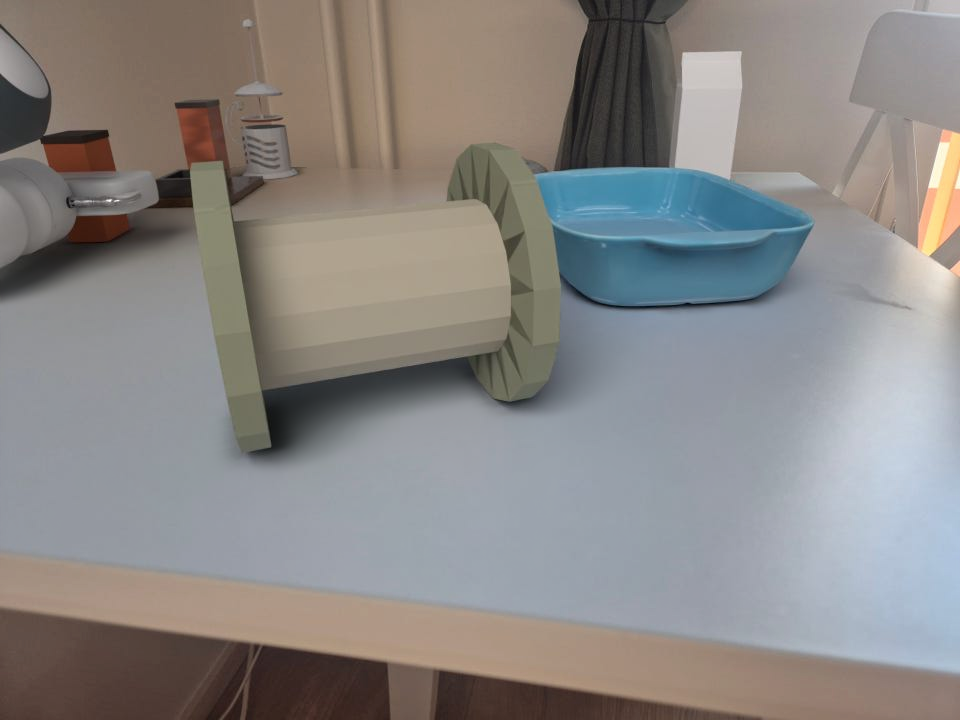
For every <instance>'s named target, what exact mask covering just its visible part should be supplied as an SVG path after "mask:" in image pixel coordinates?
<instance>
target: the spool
mask: <svg viewBox="0 0 960 720" xmlns="http://www.w3.org/2000/svg"><path fill="white" fill-rule="evenodd" d="M521 157H522V156H521V155H520V153H519V152H518V150H517V149H516V148H514V147H510V146H507V145H504V144H502V143H498V142H484V143H471V144H469V146H468V147H466V148H465V149H464V150H463V152H462V153H461V154H459V155H458V157H456V159H455V163H454V166H453V170H452V173H451V176H450V178H449V181H448V182H449V183H448V185H447V192H446V201H440V202H438V201H437V202H428V203H426V202H425V203H417V204H406V205H396V206H385V207H375V208H374V207H373V208H363V209H352V210H342V211H330V212H320V213H309V214H297V215H288V216H277V217H267V218H266V217H265V218H255V219H245V220H234V219H235V218H234V214H233V207H232V205H231V202H230V197H229V191H228V186H227V180H226V175H225V170H224V165H223V161H213V162H198V163H191V169H190V177H191V187H192V197H193V207H192V208H193V215H194V220H195V229H196V234H197V235H196V236H197V240H198V247H199V255H200V261H201V268H202V274H203V280H204V285H205V291H206V298H207V302H208V308H209V315H210V319H211V326H212V331H213V337H214V341H215V347H216V352H217V358H218V363H219V368H220V372H221V377H222V383H223V388H224V391H225V397H226V401H227V405H228V411H229V414H230V418H231V423H232V426H233V427H232V428H233V430H234V435H235V439H236V441H237V444H238V447H239V450H240V452H241V453H242V454H243V453H250V452H255V451H260V450H264V449H269V448H272V440H271V433H270V428H269V420H268V413H267V408H266V402H265V398H264V397H265V396H264V391H269V390H273V389H279V388H285V387H292V386H298V385H304V384H309V383H315V382H322V381H326V380H327V381H328V380H335V379H340V378H346V377H350V376H351V377H352V376H356V375H364V374H369V373H376V372H381V371H387V370H394V369H399V368H400V369H401V368H405V367H412V366H417V365H423V364H429V363H435V362H440V361H447V360H454V359H458V358H459V359H460V358H465V357H466V358H467V360H468V362H469V365H470V367H471V370H472V372H473V374H474V376H475V378H476V380H477V381H478V382H479V384H480V385H481V386H482V387H483V389H484V390H485V391H486V392H487V393H488V394H489V396H490V397H491V398H492V399H495V400H499V401H503V402H515V401H519V400H524V399H525V400H526V399H530V398H533V397H534V396H536V394H537V393H538V392H539V391H540V390H541V389H542V388H543V387H544V386H545V385H546V384H547V383H548V382H549V380H550V378H551V377H550V376H551V373H552V369H553V366H554V364H555V363H554V362H555V359H556V356H557V351H558V349H559V345H560V338H561V337H560V334H561V333H560V332H561V304H562V303H561V302H562V284H561V283H562V282H561V277H560V276H561V275H560V272H559V269H558V262H557V255H556V247H555V240H554V233H553V227H552V224H551V221H550V218H549V215H548V212H547V210H546V207H545V204H544V201H543V198H542V195H541V192H540V189H539V186H538V183H537V180H536V178H535V176H534V175H533V173H532V172H531V171H530V169H529V168H528V166H527V165H526V163H525V162H524V160H523V159H522V158H521Z"/></svg>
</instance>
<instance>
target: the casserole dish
mask: <svg viewBox="0 0 960 720" xmlns="http://www.w3.org/2000/svg"><path fill="white" fill-rule="evenodd" d="M534 176H535V178H536V180H537V183H538V186H539V189H540V192H541V195H542V198H543V201H544V204H545V207H546V210H547V212H548V215H549V218H550V221H551V224H552V227H553V233H554V240H555V247H556V255H557V262H558V269H559V274H561V276H562V277H563V278H564V279H565V280H566V282H568V283H569V285H571V286H572V287H573V288H574V289H576V290H577V291H579V292H580V293H581V294H582V295H584V296H585V297H587V298H589V299H591V300H592V301H595V302H598V303H601V304H604V305H610V306H621V307H646V306H647V307H649V306H674V305H675V306H676V305H683V304H686V303H689V304H709V303H710V304H711V303H726V302H735V301H745V300H751V299H755V298H757V297H760V296H761V295H762V294H764V293H766V292H768V291H769V290H771V289H773V287H775V286H777V285H778V284H779V283H780V282H781V281H782V280H783V279H784V278H785V277H786V275H787V274H788V272H789V271H790V269H792V267H793V265H794V262H795V261H796V259H797V257H798V255H799V253H800V251H801V250H802V248H803V246H804V244H805V242H806V240H807V239H808V237H809V235H810V233H811V231H812V230H813V228H814V226H815V220H814V218H813V216H812V215H810V214H809V213H807V212H806V211H804V210H802V209H799V208H797V207H795V206H793V205H791V204H788V203H786V202H783V201H782V200H779V199H777V198H774V197H771V196H769V195H766V194H764V193H762V192H760V191H757V190H755V189H752V188H750V187H747V186H745V185H742V184H739V183H737V182H735V181H733V180H731V179H730V180H728V179H726V178H723V177H720V176H718V175H714V174H711V173H708V172H704V171H699V170H692V169H683V168H669V167H646V166H645V167H643V166H642V167H639V166H615V167H614V166H613V167H591V168H575V169H574V168H572V169H567V170H566V169H565V170H559V171H549V172H546V173H540V174H534Z"/></svg>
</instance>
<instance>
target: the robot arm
mask: <svg viewBox="0 0 960 720" xmlns="http://www.w3.org/2000/svg"><path fill="white" fill-rule="evenodd" d="M52 98H53V97H52V87H51V84H50V81H49V80H48V78H47V76H46V74H45V72H44V71H43V69H42V68H41V66H40V65H39V64H38V62H37V61H36V60H35V59H34V57H33V56H32V55H31V54H30V53H29V52H28V50H27V49H26V48H25V47H24V46H23V45H22V44H21V43H20V42H19V41H18V40H17V39H16V38H15V37H14V36H13V35H12V33H10V32H9V30H8V29H6V28H5V27H4V26H3V25H2V24H1V23H0V155H2V154H5V153H8V152H11V151H13V150H16V149H19V148H21V147H24V146H26V145H29V144H32V143H35V142H37V141H40V139H41V138H42V137H43V136H45V134H46V133H47V129H48V126H49V122H50V119H51V115H52V104H53V100H52ZM155 179H156V178H155V175H154V173H153V172H152V171H149V170H146V169H145V170H143V169H142V170H141V169H140V170H116V171H95V172H56V171H55V170H53V169H52V168H50V167H49V165H48V164H46V163H44V162H42V161H40V160H36V159H33V158H29V157H11V158H7V159H3V160H0V269H2V268H4V267H6V266H8V265H11V264H12V263H13V262H15V261H16V260H17V259H18V258H20V257H22V256H27V255H31V254H33V253H35V252H37V251H39V250H42V249H44V248H45V247H48V246H50V245H52V244H54V243H56V242H58V241H60V240H62V239H63V238H65V237H66V236H68V233H69V232H70V231H71V229H72V228H73V225H74V223H75V220H76V216H102V215H120V214H127V215H128V214H131V213H134V212H135V213H136V212H138V211H142V210H143V209H147V208H146V207H149V206H151V205H154V204H156V203H157V202H158V200H159V195H158V189H157V184H156V180H155Z"/></svg>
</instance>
